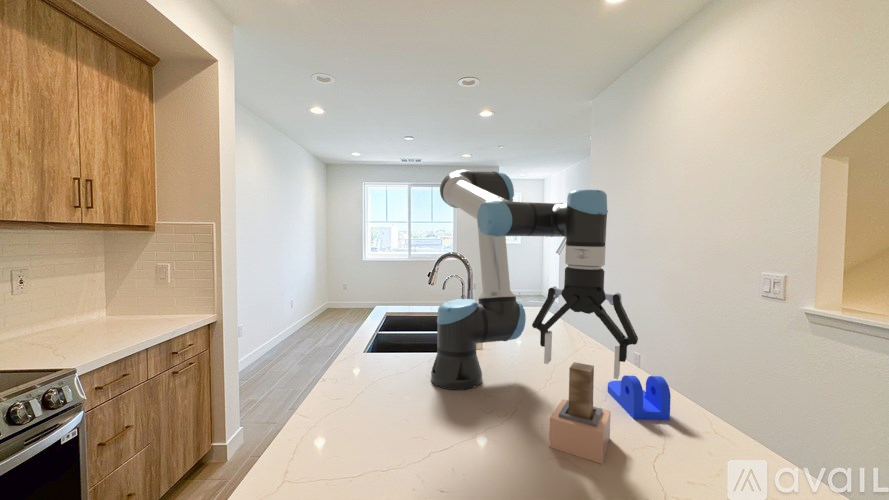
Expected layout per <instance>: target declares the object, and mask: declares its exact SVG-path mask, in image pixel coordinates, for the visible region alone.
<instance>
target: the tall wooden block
mask: <svg viewBox="0 0 889 500" xmlns="http://www.w3.org/2000/svg"><path fill="white" fill-rule="evenodd" d="M568 371H569V373H568V375H569V376H568V377H569V379H568V380H569V381H568V386H569V387H568V401H569V412H568V414H570V415H573V416H577V417H581V418H585V419H588V420H592V419H593V407H594V380H595V379H594V376H595V375H594V374H595V365H591V364H586V363H582V362H581V363H580V362H574V361H573V363H572V364H571V365H570V366H569V370H568Z"/></svg>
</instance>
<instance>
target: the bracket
mask: <svg viewBox="0 0 889 500" xmlns="http://www.w3.org/2000/svg"><path fill="white" fill-rule="evenodd" d="M607 393H608V394H609V395H610V396H611V397H612V398H613V400H614V401H616V403H617V404H619V406H620V407H621V408H622V409H623V410H624V411H625V412H626V413H627V414H628V415H629V416H630V417H631V419H633V420H646V421H647V420H648V421H671V389H670V387H669V384H668V382H667V381H666V379H665V378H664V377H663V376H661V375H649V376H648V377H647V378H646V382H645V390H644V389H643V386H642V383H641V380H640V379H639V378H638V377H637V376H635V375H623V376H622V377H621V380H611V381H610V380H609V382H607Z"/></svg>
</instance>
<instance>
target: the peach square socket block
mask: <svg viewBox="0 0 889 500" xmlns="http://www.w3.org/2000/svg"><path fill="white" fill-rule="evenodd" d="M568 412H569V399H568V400H567V399H564V398H562V399H561V400H560V402H559V404H558V405H557V406H556V407H555V409H554V411H553V413H552V414H551V415H550V417H549V439H548V440H549V441H548V445H549V448H552V449H556V450H558V451H562V452H565V453H568V454H570V455H574V456H576V457H580V458H583V459H587V460H590V461H592V462H595V463H598V464H601V465H603V463H604V460H605V457H606V453H607V450H608V446H609V443H610V439H611V417H612V416H611V415H612V414H611V410H609V409H606V408H605V409H604V408H602V407H597V406H593V419H592V420H588V419H585V418H581V417H577V416H573V415H570V414H568Z"/></svg>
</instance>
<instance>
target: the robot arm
mask: <svg viewBox="0 0 889 500" xmlns="http://www.w3.org/2000/svg"><path fill="white" fill-rule="evenodd" d="M439 194H440V197H441V200H442V201H444V203H445V204H446V205H448V206H449V207H451V208H453V209H460V210H462V212H464V213H466V214H468V215H469V216H470V217H472V218H474V219H475V220H476V222H477V233H478V235H477V236H478V247H479V249H478V250H479V259H480V273H481V285H482V286H481V287H482V288H481V289H482V293H481V294H480V295H479V296H478V303H477V301H476V300H475V299H473V298H458V299H452V300H449V301H445V302H443V303H442V304H440V305H439V307H438V308H437V318H436V323H437V329H436V330H437V334H436V335H437V336H436V337H437V338H436V339H437V340H436V341H437V342H436V343H437V347H436V349H437V351H436V356H435V359H434V362H433V365H432V369H431V373H430V374H431V375H430V377H431V378H430V380H431V382H432V383H433V384H434V386H435V385H436V386H437V387H439V388H443V389H447V390H453V391H454V390H455V391H456V390H457V391H459V390H461V391H462V390H468V389H472V388H475V387H478V386H479V385H481V383H482V381H483V372H482V368H481V365H480V361H479V358H478V355H477V344H483V343H485V344H486V343H493V342H496V343H497V342H502V341H503V342H508V341H512V340H517V339H518V338H520V337H521V335H522V333H523V332H524V329H525V326H526V321H527V318H526V317H527V316H526V315H527V314H526V310H525V308H524V306H523V304H522V303H521V302H520V301H518V300H517V297H516V295H517V294H514V293H513V292H512V290H511V282H510V272H509V271H510V269H509V261H508V251H507V250H508V247H507V239H506V238H507V237H545V238H548V237H550V238H552V237H553V238H554V237H556V238H557V237H560V238H562V237H565V240H566V241H565V253H564V254H565V255H564V256H565V258H564V260H565V262H564V264H565V265H567V266H566V267H565V268H564V284H563V289H562V288H557V286H552V287H550V288H548V291H547V297H546V299H545V301H544V302H543V305H542V306H541V308H540V310H539V312H538V313H537V315H536V317H535V319H534V320H533V321H532V324H531V326H532V328H533V329H537V330H538V331H539V333H540V338H539V339H540V347H541V348H544V352H543V353H544V357H543V359H544V360H543V363H544V364H545V365H549V363H550V362H551V361H552V348H553V347H552V344H553V343H552V342H553V331H552V330H549V329H550V328H552V326H553V325H554V324H556V322H557V321H559V319H561V318H562V317H563V316H564V315H565V314H566V313H568V311H569V310H571V311H573V312H574V313H584V314H588V315H590V314H595V316H596V317H597V318H598V319H600V321H601V322H602V324H603V325H604V326H605V327H606V328H607V330H608V331H609V332H610V334H611V335H612V336H613V337H614V339H615V341H616V343H615V345H614V361H613V362H614V364H613V365H614V366H613V379H615V380H618V379H619V377H620V373H621V371H620V370H621V362H622V363H625V362H626V360H627V358H628V356H627V355H628V354H627V353H628V346H630V345H637V343H638V342H639V341H638V340H639V338H638V335H637V333H636V331H635V329H634V327H633V324H632V322H631V320H630V319H629V317H628V313H627V312H626V310H625V308H624V306H623V304H622V295H621V293H619V292H615V293H605V270H604V269H603V268H602V267H604V266H605V265H606V239H607V238H606V237H607V218H608V213H609V210H608V198H607V197H608V196H607V193H606V192H605V191H604V190H601V189H575V190H571V191H569V193H567V200H566V202H557V203H553V202H552V203H551V202H549V203H548V202H531V201H530V202H528V201H526V202H523V201H514V197H515V189H514V184H513V182H512V180H511V178H510V177H509V176H508V175H507V174H506V173H504V172H498V171H495V170H494V171H486V170H485V171H484V170H483V171H482V170H473V169H472V170H469V169H459V170H455V171H452V172H450V173H448V174H447V175H446V176H445V177H444V178H443V179H442V181H441V183H440V186H439ZM560 296H562V298H563V299H564V301H565V304H563V305H562V306H561V307H560V308H559V309H558V310H557V311H556V313H554V314H553V315H552V316H551V317H550V318H549V319H548V320H547V321H546V322H545V323H543V322H544V319H546V316H547V314H548V313H549V311H550V310H551V307H552V306H553V304H554V302H555V301H556V299H558V298H559V297H560ZM605 301H608V302H609V304H610V305H611V306H613V310H614V311H615V314H616V315H617V317H618V319H619V322H620V324H621V325H622V328H623V331H624V333H625V334H626V335H625V334H624V333H623V332H622V331H621V329H620V328H619V327H618V325H617V323H616V322H615V321H614V320H613V319H612V318H611V316H610V315H609V314H608V313H607V311H606V309H605V308H604V307H603V305H602V304H603V303H605Z"/></svg>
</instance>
